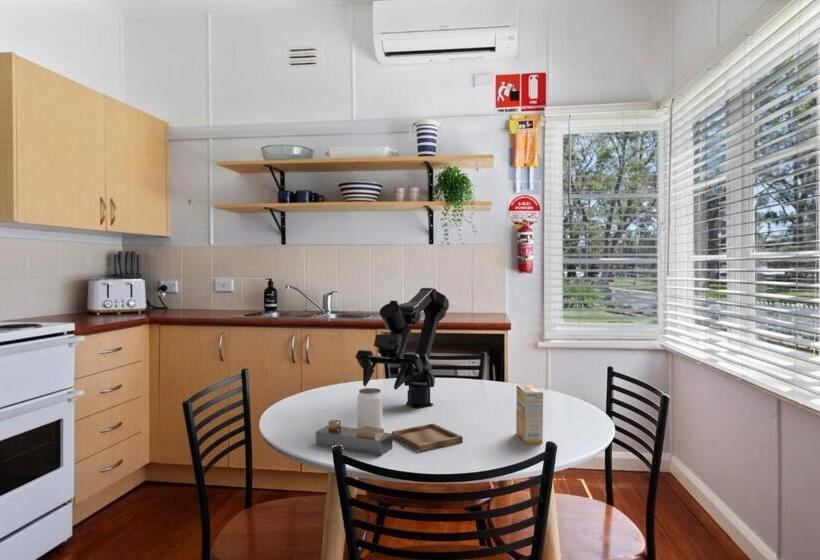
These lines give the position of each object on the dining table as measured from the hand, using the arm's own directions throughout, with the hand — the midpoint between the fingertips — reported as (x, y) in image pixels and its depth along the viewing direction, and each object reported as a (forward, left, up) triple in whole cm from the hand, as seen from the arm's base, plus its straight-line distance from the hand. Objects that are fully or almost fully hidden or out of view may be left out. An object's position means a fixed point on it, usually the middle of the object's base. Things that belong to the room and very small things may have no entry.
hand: (379, 387), depth 143 cm
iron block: (+12, +8, -12) cm, 18 cm away
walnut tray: (-6, +13, -12) cm, 19 cm away
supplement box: (-29, +26, -12) cm, 41 cm away
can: (+5, +3, -12) cm, 13 cm away
